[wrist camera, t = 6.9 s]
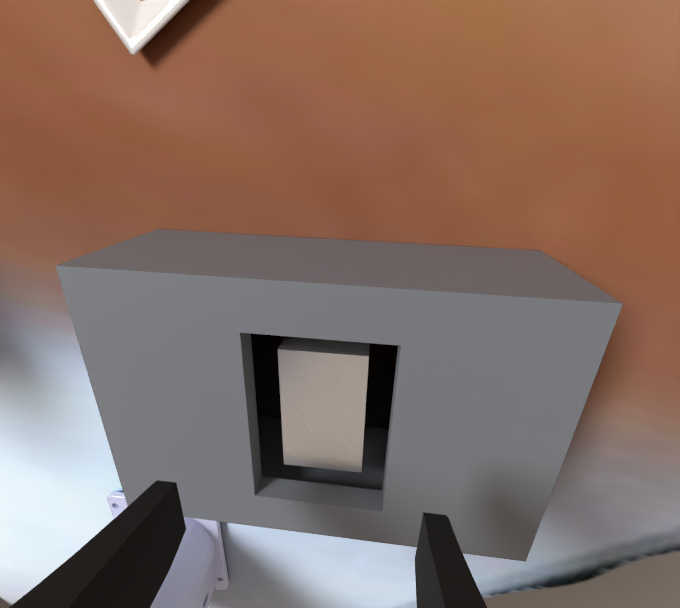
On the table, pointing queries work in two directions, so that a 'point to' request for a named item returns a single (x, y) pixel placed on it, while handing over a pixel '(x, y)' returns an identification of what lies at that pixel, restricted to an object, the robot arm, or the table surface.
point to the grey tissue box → (355, 326)
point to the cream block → (323, 402)
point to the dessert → (138, 19)
